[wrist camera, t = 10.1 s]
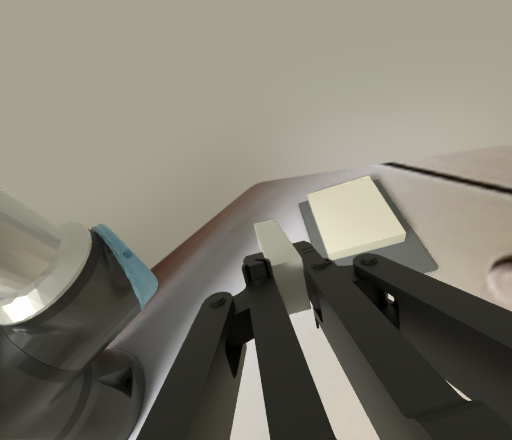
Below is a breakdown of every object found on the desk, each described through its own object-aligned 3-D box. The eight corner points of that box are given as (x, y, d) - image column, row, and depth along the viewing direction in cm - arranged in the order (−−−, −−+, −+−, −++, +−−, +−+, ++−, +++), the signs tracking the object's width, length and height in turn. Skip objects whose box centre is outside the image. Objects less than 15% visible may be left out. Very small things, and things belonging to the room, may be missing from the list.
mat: (436, 269, 37) (437, 268, 36) (327, 296, 39) (327, 294, 39) (377, 181, 50) (377, 179, 50) (298, 205, 52) (298, 203, 52)
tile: (406, 233, 38) (368, 175, 48) (328, 253, 40) (306, 194, 50) (404, 241, 40) (368, 184, 50) (329, 261, 42) (308, 202, 51)
